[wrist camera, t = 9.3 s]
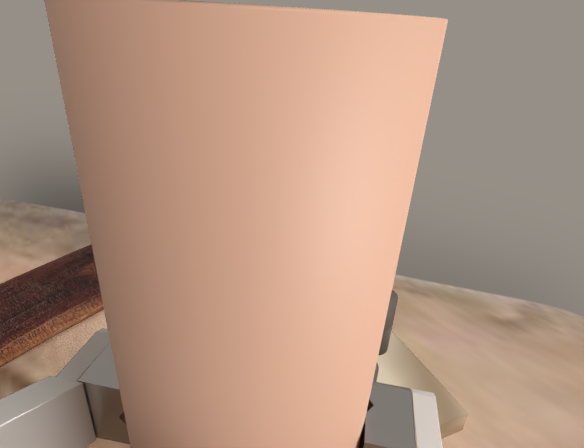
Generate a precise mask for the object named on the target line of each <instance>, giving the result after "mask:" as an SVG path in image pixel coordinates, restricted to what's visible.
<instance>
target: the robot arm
mask: <svg viewBox="0 0 584 448" xmlns="http://www.w3.org/2000/svg"><path fill="white" fill-rule="evenodd" d="M96 438H101V439H106V440H111V441H116V442H121V443H126V444H130V441H129V436H128V430H127V425H126V420H125V415H124V410H123V404H122V399H121V394H120V389H119V384H118V379H117V373H116V368H115V363H114V358H113V353H112V348H111V342H110V337H109V332H108V329H104V328H103V329H101V330H99V331H97V332H96V333H95V334H94V335H93V336H92V337H91V338H90V339H89V340H88V342H87V343H86V344H85V345H84V346H83V347H82V348H81V349H80V350H79V352H78V353H77V354H76V355H75V356H74V357H73V358H72V359H71V360H70V362H69V363H68V364H67V365H66V366H65V367H64V368H63V369H62V370H61V372H60V373H59V374H58V375H57V376H56V377H53V376H49V377H47V378H44V379H42V380H40V381H38V382H36V383H34V384H32V385H30V386H28V387H26V388H24V389H21V390H19V391H17V392H15V393H13V394H11V395H9V396H7V397H5V398H3V399H1V400H0V448H86V447H87V446H89V445H90V444H91V443H93V442H94V441H95V440H96ZM359 448H443V447H442V440H441V432H440V425H439V418H438V410H437V403H436V397H435V395H434V393H432V392H427V391H421V390H416V389H409V388H406V387H401V386H395V385H390V384H384V383H379V382H373V383H372V388H371V393H370V398H369V403H368V407H367V412H366V417H365V422H364V427H363V431H362V436H361V441H360V446H359Z"/></svg>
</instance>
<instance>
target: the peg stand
mask: <svg viewBox="0 0 584 448" xmlns="http://www.w3.org/2000/svg"><path fill="white" fill-rule="evenodd" d="M397 300H398V296H397V294H396V293H395V292H394V291H393V290H392V292H391V297H390V301H389V306H388V311H387V316H386V321H385V326H384V330H383V335H382V340H381V345H380V350H379V354H378V359H377V364H376V369H375V374H374V378H373V382H379V383H384V384H390V385H395V386H401V387H406V388H409V389H416V390H421V391H427V392H432V393H434V395H435V397H436V403H437V410H438V418H439V425H440V432H441V438H444V437H446V436H448V435H450V434H453V433H455V432H457V431H460V430H462V429H463V426H464V423H465V421H466V418H467V415H468V412H467V411H466V410H465V409H464V408H463V407H462V406H461V405H460V404H459V403H458V401H457V400H456V399H455V398H454V397H453V396H452V395H451V394H450V393H449V392H448V391H447V390H446V389H445V387H444V386H443V385H442V384H441V383H440V382H439V381H438V380H437V379H436V378H435V377H434V376H433V374H432V373H431V372H430V371H429V370H428V369H427V368H426V367H425V366H424V365H423V364H422V363H421V361H420V360H419V359H418V358H417V357H416V356H415V355H414V354H413V353H412V352H411V351H410V350H409V348H408V347H407V346H406V345H405V344H404V343H403V342H402V341H401V340H400V339H399V338H398V337H397V335H396V334H395V333H394V332H393V331H392V325H393V320H394V315H395V310H396V305H397Z"/></svg>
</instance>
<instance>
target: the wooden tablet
mask: <svg viewBox="0 0 584 448" xmlns="http://www.w3.org/2000/svg"><path fill="white" fill-rule="evenodd" d="M103 309H104V306H103V301H102V296H101V291H100V285H99V280H98V275H97V270H96V265H95V260H94V254H93V249H92V245H90V246H87V247H84V248H82V249H79V250H77V251H75V252H72V253H70V254H68V255H65V256H63V257H61V258H58V259H56V260H54V261H52V262H49V263H47V264H45V265H42V266H40V267H38V268H36V269H33V270H31V271H29V272H27V273H24V274H22V275H20V276H17V277H15V278H13V279H10V280H8V281H6V282H4V283H2V284H0V366H2V365H4V364H6V363H8V362H9V361H11V360H13V359H14V358H16V357H18V356H20V355H22V354H23V353H25V352H27V351H28V350H30V349H32V348H33V347H35V346H37V345H39V344H40V343H42V342H44V341H46V340H47V339H49V338H51V337H53V336H55V335H56V334H58V333H60V332H62V331H64V330H66V329H68V328H70V327H72V326H74V325H76V324H77V323H79V322H81V321H83V320H85V319H86V318H88V317H90V316H92V315H94V314H96V313H98V312H100V311H101V310H103Z"/></svg>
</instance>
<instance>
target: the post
mask: <svg viewBox="0 0 584 448" xmlns="http://www.w3.org/2000/svg"><path fill="white" fill-rule="evenodd" d="M44 1H45V6H46V11H47V16H48V21H49V26H50V32H51V37H52V42H53V47H54V53H55V58H56V63H57V68H58V73H59V78H60V83H61V89H62V94H63V99H64V104H65V109H66V115H67V120H68V125H69V130H70V135H71V141H72V146H73V151H74V156H75V161H76V166H77V172H78V177H79V182H80V187H81V192H82V197H83V202H84V207H85V213H86V218H87V223H88V229H89V234H90V239H91V244H92V249H93V254H94V260H95V265H96V270H97V275H98V280H99V285H100V291H101V296H102V301H103V306H104V311H105V317H106V322H107V327H108V332H109V337H110V342H111V348H112V353H113V358H114V363H115V368H116V373H117V379H118V384H119V389H120V394H121V399H122V404H123V410H124V415H125V420H126V425H127V430H128V436H129V441H130V446H131V448H359V446H360V441H361V436H362V431H363V427H364V422H365V417H366V412H367V407H368V403H369V398H370V393H371V388H372V383H373V378H374V374H375V369H376V364H377V359H378V354H379V350H380V345H381V340H382V335H383V330H384V326H385V321H386V316H387V311H388V306H389V301H390V297H391V292H392V287H393V282H394V277H395V272H396V268H397V263H398V258H399V253H400V248H401V244H402V239H403V234H404V229H405V224H406V220H407V214H408V209H409V205H410V200H411V195H412V191H413V186H414V180H415V176H416V171H417V167H418V162H419V157H420V152H421V147H422V142H423V138H424V133H425V127H426V123H427V118H428V113H429V109H430V104H431V99H432V94H433V89H434V84H435V80H436V75H437V70H438V65H439V61H440V55H441V51H442V46H443V41H444V36H445V32H446V27H447V22H448V19H442V18H433V17H422V16H410V15H397V14H384V13H371V12H357V11H343V10H329V9H314V8H299V7H283V6H269V5H268V6H267V5H252V4H236V3H221V2H204V1H188V0H44Z"/></svg>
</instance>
